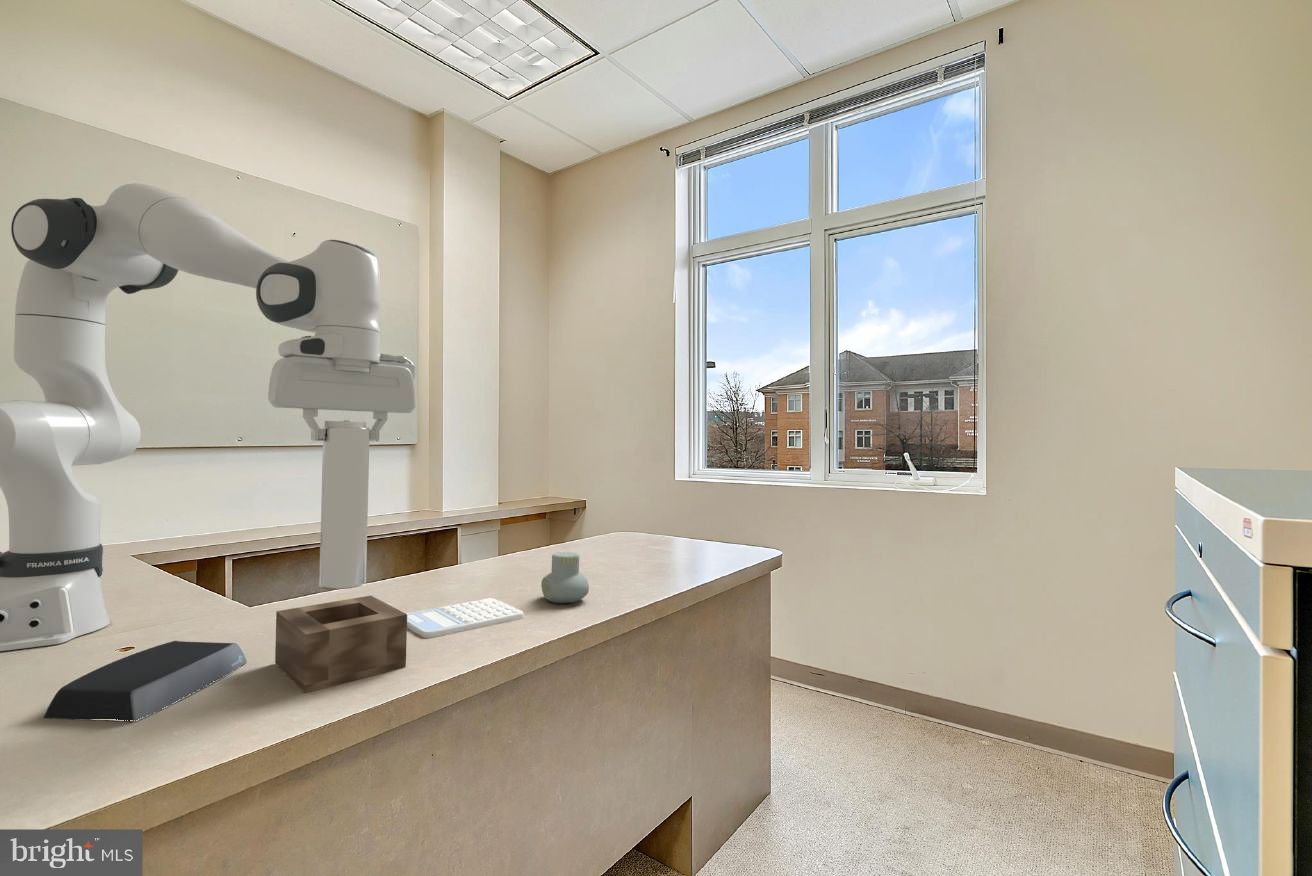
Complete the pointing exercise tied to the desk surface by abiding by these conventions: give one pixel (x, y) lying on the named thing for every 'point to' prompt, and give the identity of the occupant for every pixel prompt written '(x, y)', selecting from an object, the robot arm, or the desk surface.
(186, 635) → the desk surface
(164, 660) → the external hard drive
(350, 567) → the tall grey cylinder
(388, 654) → the socket block
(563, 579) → the air freshener
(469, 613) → the calculator
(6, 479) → the robot arm
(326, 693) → the desk surface
